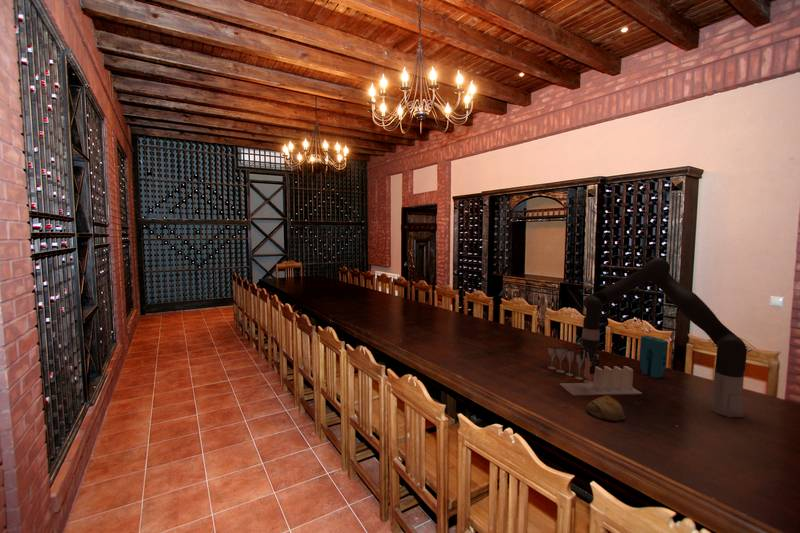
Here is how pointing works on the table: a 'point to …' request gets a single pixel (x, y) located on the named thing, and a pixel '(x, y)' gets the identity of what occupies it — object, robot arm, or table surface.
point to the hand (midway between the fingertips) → (588, 371)
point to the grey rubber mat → (595, 390)
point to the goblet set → (570, 356)
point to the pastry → (606, 409)
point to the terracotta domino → (587, 369)
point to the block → (653, 356)
